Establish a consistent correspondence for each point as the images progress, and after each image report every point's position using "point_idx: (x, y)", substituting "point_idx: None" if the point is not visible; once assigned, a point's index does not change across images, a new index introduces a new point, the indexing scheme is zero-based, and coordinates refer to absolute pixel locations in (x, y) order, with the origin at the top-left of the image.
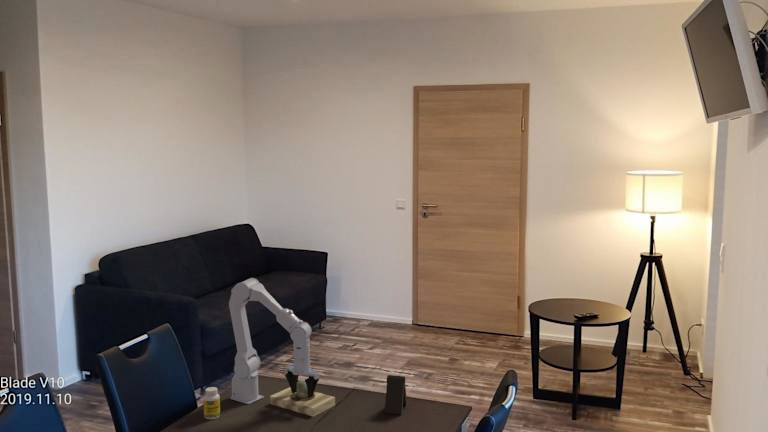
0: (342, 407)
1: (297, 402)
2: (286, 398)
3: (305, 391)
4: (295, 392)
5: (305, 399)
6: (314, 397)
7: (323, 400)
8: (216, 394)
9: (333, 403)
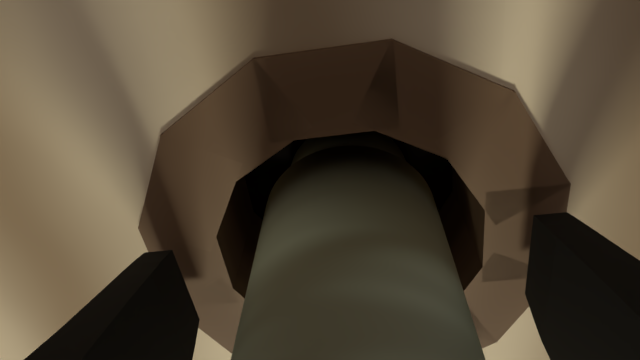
0: None
1: (188, 22)
2: (540, 11)
3: (238, 326)
4: None
5: (201, 200)
6: None
7: (16, 320)
8: None
9: None
